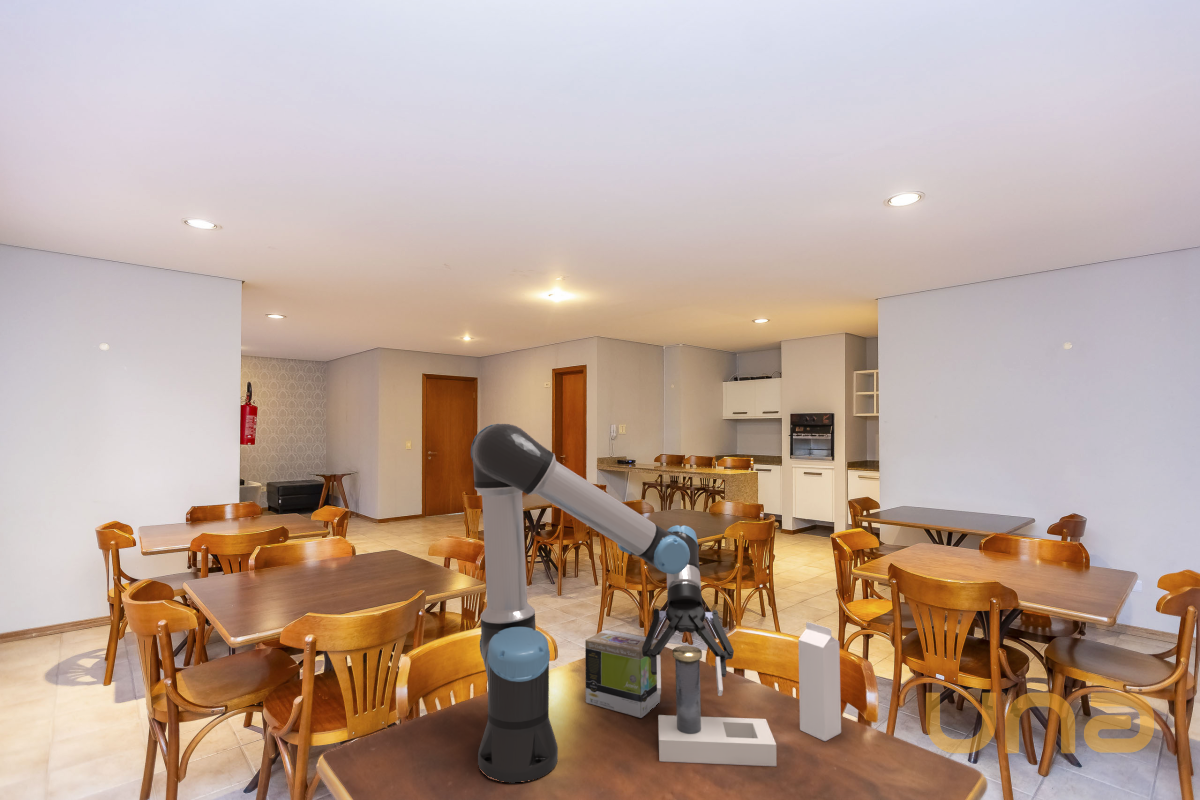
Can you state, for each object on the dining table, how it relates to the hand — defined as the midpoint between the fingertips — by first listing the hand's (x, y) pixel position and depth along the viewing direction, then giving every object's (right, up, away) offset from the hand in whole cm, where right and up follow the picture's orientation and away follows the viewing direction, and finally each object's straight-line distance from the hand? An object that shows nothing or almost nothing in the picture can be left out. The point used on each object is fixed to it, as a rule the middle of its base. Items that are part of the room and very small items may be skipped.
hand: (689, 692), depth 117 cm
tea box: (-12, -14, +22) cm, 29 cm away
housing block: (+5, -12, +2) cm, 13 cm away
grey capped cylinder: (0, -8, +2) cm, 9 cm away
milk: (+29, -13, +9) cm, 33 cm away
